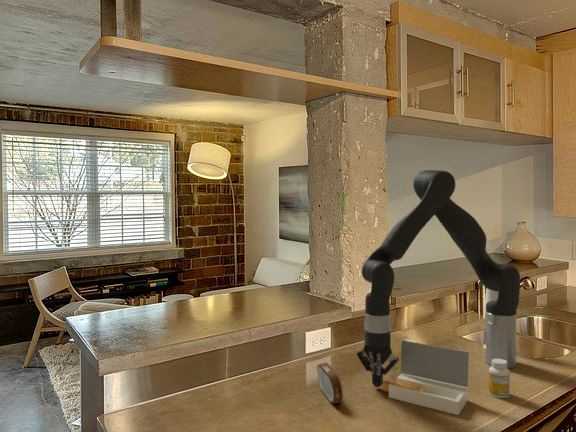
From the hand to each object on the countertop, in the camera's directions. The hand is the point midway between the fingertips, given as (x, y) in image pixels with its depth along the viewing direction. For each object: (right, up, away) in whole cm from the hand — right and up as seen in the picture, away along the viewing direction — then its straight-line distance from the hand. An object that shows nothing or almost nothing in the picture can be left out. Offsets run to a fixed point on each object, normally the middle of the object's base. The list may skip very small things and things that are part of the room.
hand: (377, 385), depth 137 cm
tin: (-15, -2, -5) cm, 15 cm away
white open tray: (+13, -1, -7) cm, 15 cm away
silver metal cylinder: (+49, +2, +33) cm, 59 cm away
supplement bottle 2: (+34, -1, -5) cm, 34 cm away
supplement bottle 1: (+14, 0, +17) cm, 22 cm away
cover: (+15, +8, -4) cm, 18 cm away
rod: (+6, -1, -4) cm, 8 cm away
